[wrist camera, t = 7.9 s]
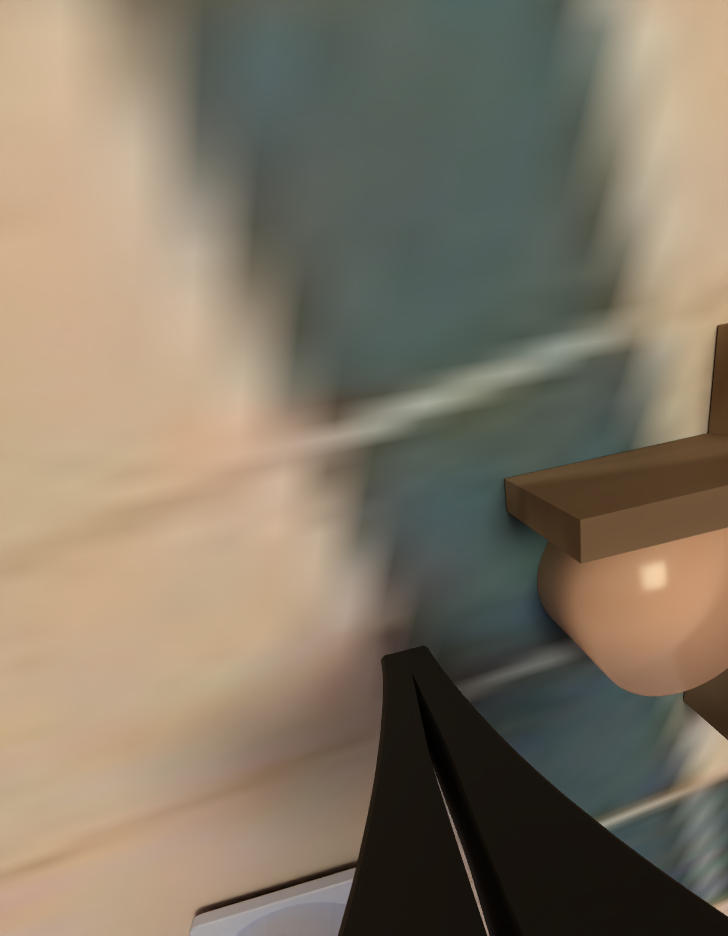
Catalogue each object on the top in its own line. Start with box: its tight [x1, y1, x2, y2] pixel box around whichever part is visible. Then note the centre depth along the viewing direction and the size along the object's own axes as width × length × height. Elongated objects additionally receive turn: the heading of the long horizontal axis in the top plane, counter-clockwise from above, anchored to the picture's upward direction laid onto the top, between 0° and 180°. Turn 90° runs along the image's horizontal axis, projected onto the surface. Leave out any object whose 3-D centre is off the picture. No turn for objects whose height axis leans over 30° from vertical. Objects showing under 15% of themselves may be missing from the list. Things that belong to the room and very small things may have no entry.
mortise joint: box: [505, 323, 728, 740], centre depth 11 cm, size 16×9×4 cm, turn 11°
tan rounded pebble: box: [537, 528, 728, 696], centre depth 12 cm, size 6×6×3 cm
